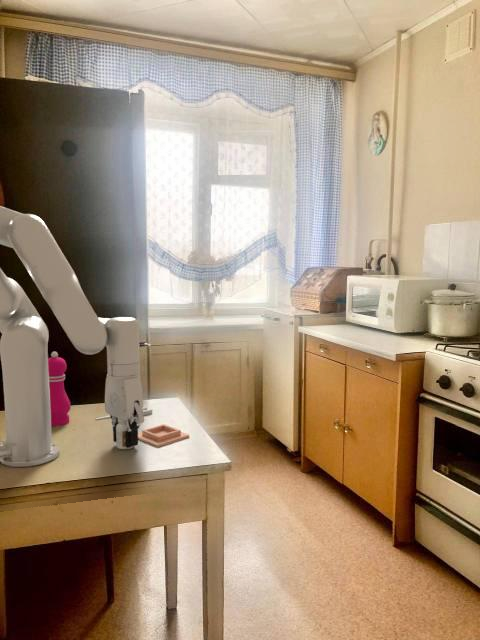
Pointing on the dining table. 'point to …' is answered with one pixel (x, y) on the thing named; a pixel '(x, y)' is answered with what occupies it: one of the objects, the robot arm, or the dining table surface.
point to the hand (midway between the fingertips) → (125, 442)
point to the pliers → (145, 412)
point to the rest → (161, 435)
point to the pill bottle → (121, 434)
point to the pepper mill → (58, 391)
